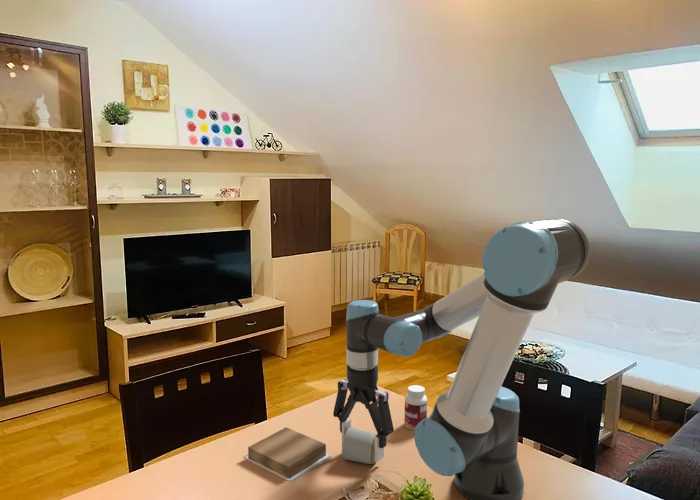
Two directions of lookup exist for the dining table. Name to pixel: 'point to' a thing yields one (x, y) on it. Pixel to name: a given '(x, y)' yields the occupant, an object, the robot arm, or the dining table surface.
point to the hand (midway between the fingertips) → (362, 451)
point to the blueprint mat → (297, 473)
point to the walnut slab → (287, 452)
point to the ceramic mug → (359, 446)
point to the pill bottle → (415, 406)
